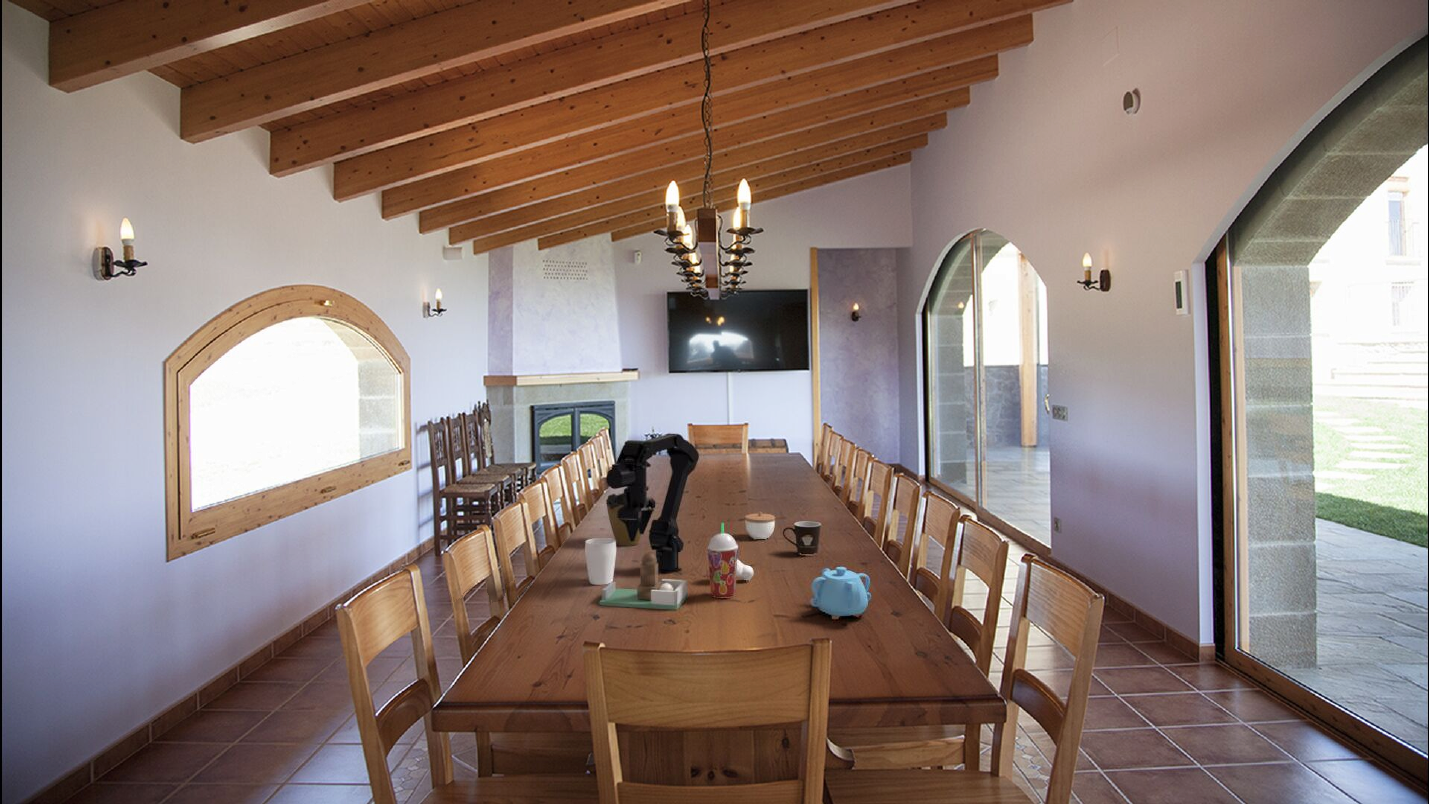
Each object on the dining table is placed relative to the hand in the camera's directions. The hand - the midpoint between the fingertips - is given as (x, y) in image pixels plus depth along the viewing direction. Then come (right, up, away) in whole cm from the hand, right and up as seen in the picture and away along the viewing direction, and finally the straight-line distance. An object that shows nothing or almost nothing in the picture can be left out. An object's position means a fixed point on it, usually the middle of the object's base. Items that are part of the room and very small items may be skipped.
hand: (637, 537), depth 231 cm
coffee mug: (+52, -11, +32) cm, 62 cm away
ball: (+9, -11, -18) cm, 23 cm away
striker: (+5, -13, -17) cm, 22 cm away
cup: (-11, -13, +1) cm, 17 cm away
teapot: (+54, -15, -28) cm, 63 cm away
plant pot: (-8, -10, +48) cm, 50 cm away
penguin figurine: (+28, -13, +1) cm, 31 cm away
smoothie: (+25, -14, -13) cm, 31 cm away
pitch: (+4, -14, -17) cm, 22 cm away
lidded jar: (+39, -10, +55) cm, 68 cm away
